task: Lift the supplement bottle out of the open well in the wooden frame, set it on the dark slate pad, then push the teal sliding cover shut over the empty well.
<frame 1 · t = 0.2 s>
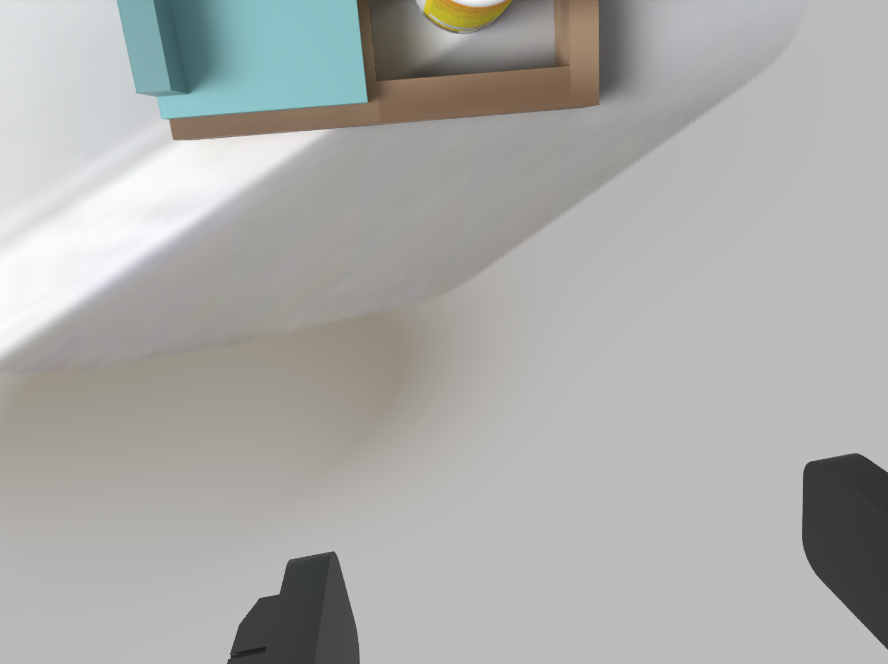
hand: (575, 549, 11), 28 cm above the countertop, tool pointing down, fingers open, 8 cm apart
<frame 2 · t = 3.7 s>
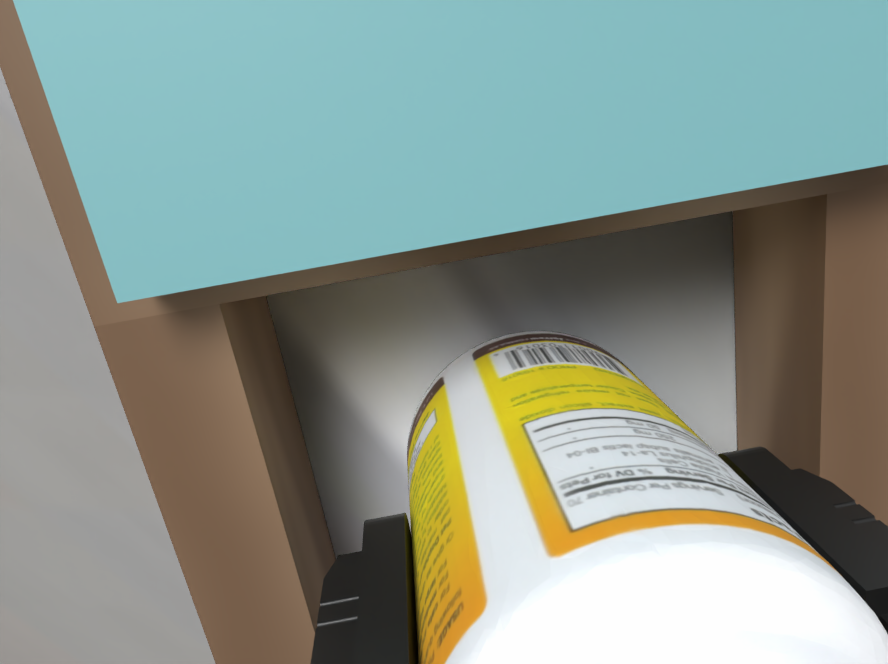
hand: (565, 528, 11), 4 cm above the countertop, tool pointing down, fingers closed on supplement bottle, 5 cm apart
wooden frame: (500, 246, 13), on the countertop
supplement bottle: (525, 432, 15), resting in wooden frame, touching gripper
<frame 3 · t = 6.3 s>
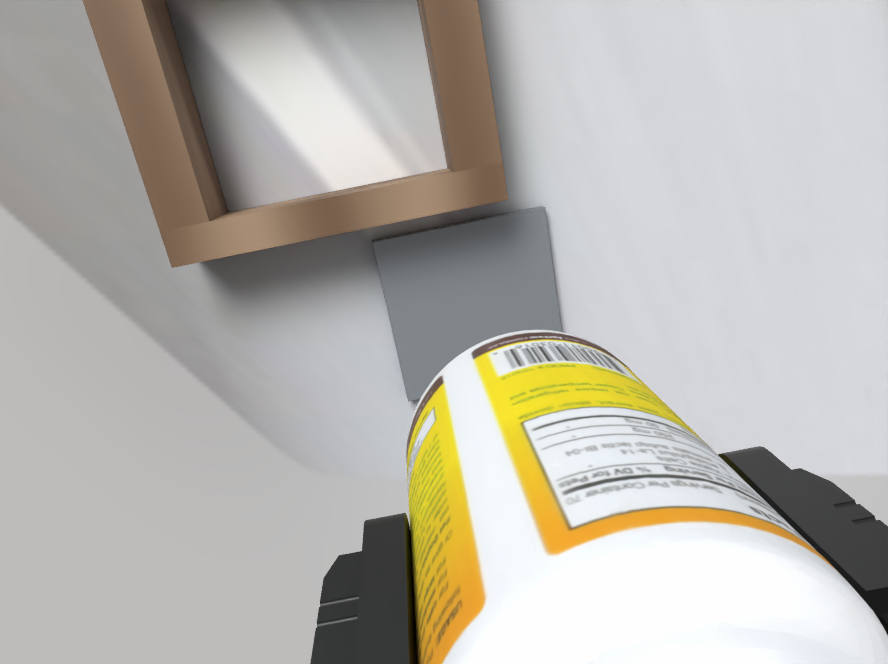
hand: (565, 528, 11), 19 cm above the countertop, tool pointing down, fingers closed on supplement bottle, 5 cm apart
slate pad: (472, 305, 30), on the countertop
supplement bottle: (524, 431, 15), point 16 cm above the countertop, touching gripper
when the fingers open (5 cm above the countertop, at t = 9.2 s): supplement bottle drops 1 cm, resting on slate pad.
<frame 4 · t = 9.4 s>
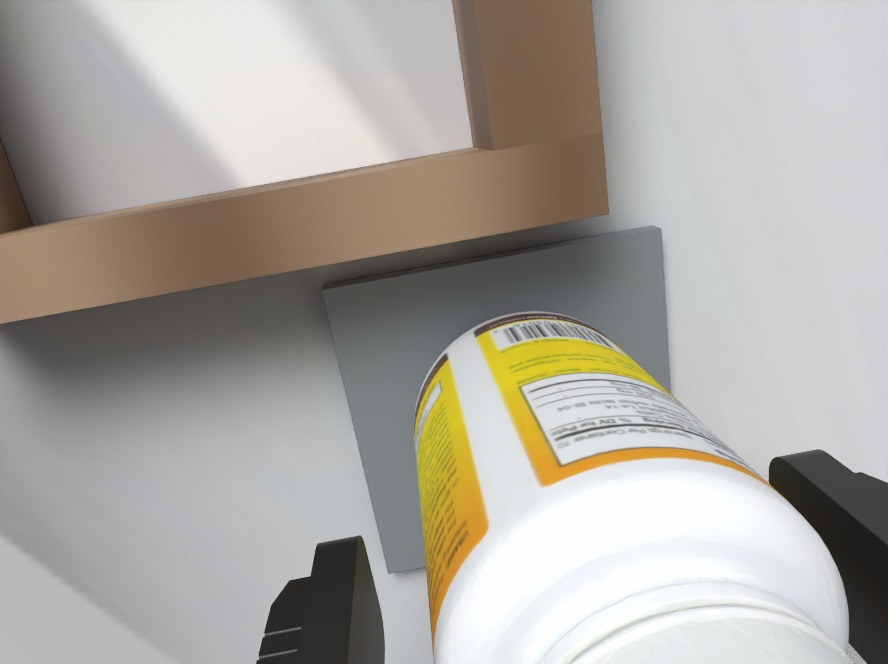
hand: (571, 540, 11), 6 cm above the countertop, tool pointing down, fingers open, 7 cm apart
slate pad: (511, 405, 16), on the countertop
supplement bottle: (522, 406, 16), resting on slate pad
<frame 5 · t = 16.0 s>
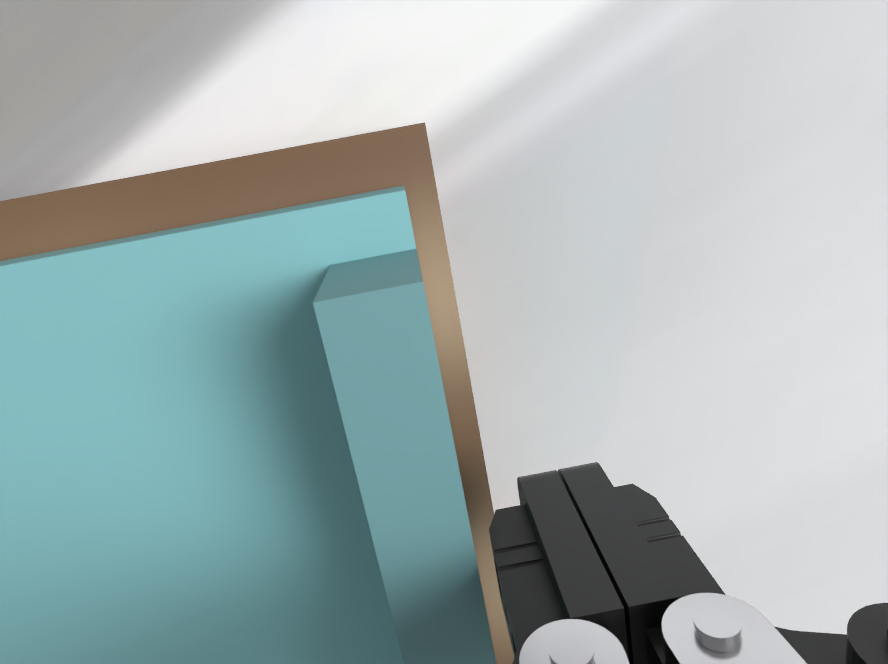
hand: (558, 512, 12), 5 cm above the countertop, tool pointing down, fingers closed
sliding cover: (201, 571, 11), point 5 cm above the countertop, slide at 0.6 cm, touching gripper
wooden frame: (47, 486, 16), on the countertop
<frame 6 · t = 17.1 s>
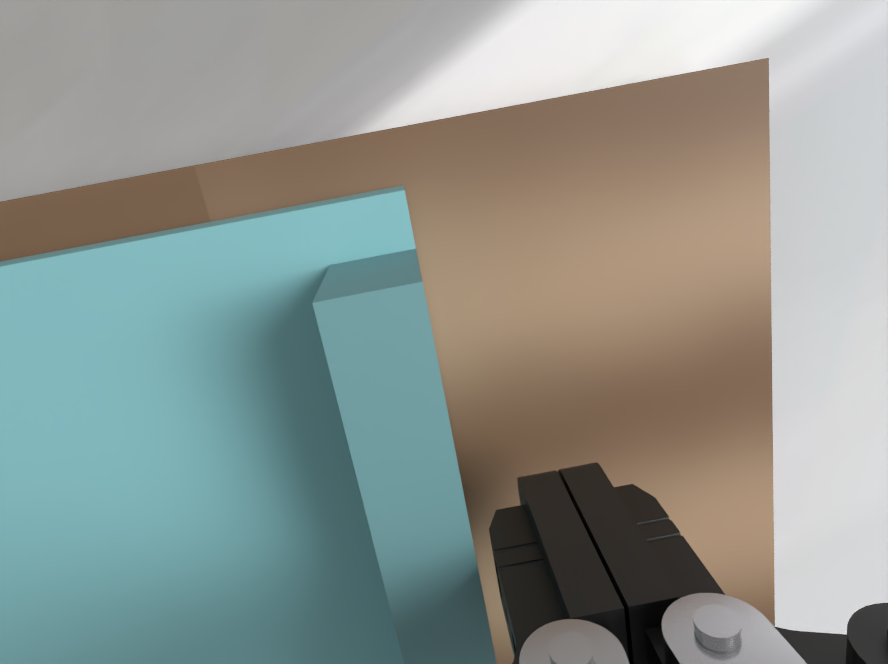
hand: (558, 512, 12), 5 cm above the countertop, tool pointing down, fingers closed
sliding cover: (201, 571, 11), point 5 cm above the countertop, slide at 6.9 cm, touching gripper
wooden frame: (291, 438, 16), on the countertop
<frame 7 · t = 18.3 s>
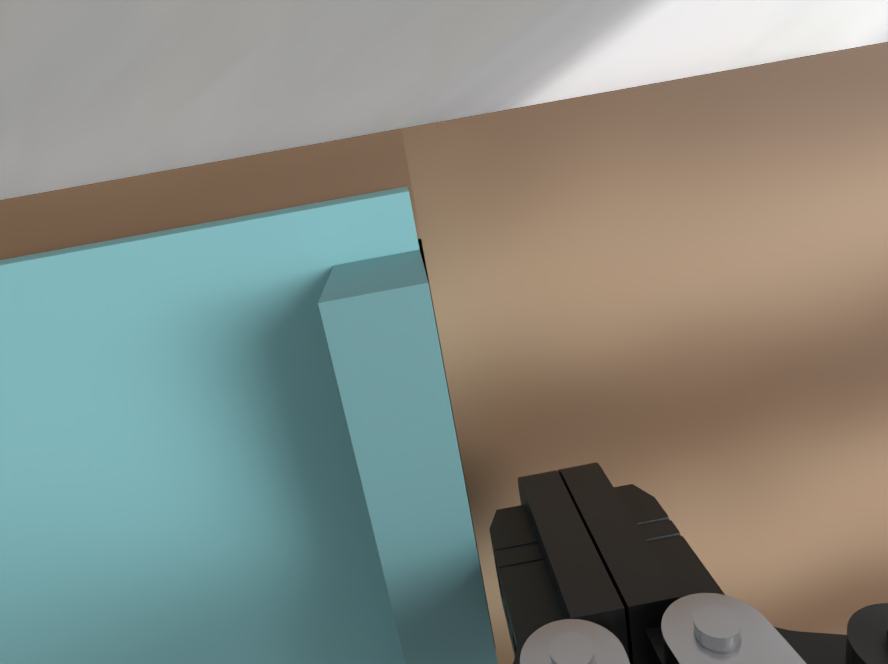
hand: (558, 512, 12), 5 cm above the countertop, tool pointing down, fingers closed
sliding cover: (202, 571, 11), point 5 cm above the countertop, slide at 10.6 cm, touching gripper
wooden frame: (430, 412, 16), on the countertop
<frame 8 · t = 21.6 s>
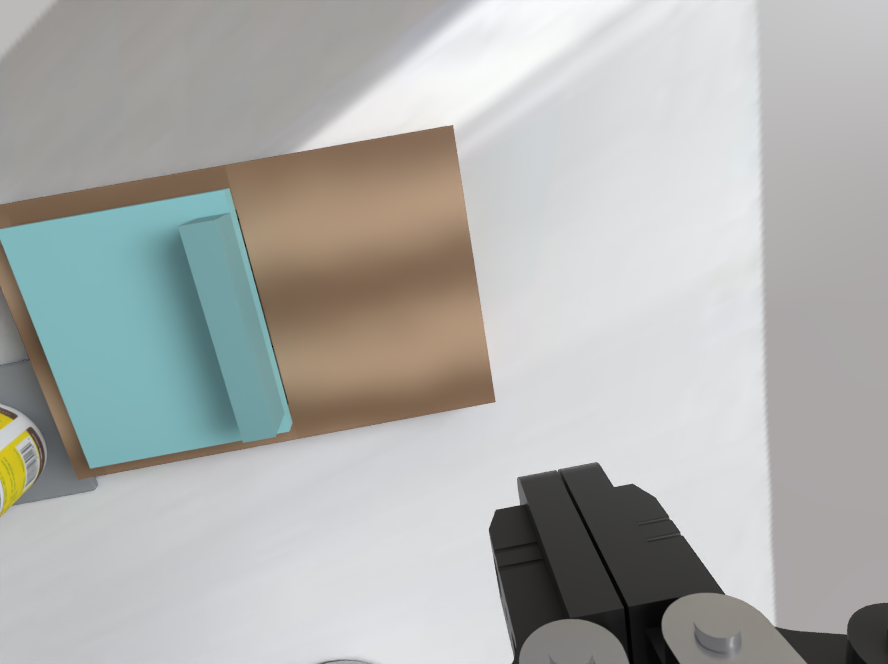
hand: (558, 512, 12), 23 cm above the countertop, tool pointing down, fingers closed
sliding cover: (146, 342, 28), point 5 cm above the countertop, slide at 10.5 cm
slate pad: (1, 436, 34), on the countertop
wooden frame: (265, 298, 33), on the countertop
supplement bottle: (0, 443, 34), resting on slate pad
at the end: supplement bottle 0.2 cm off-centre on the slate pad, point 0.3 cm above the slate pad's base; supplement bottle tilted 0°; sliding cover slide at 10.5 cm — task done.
